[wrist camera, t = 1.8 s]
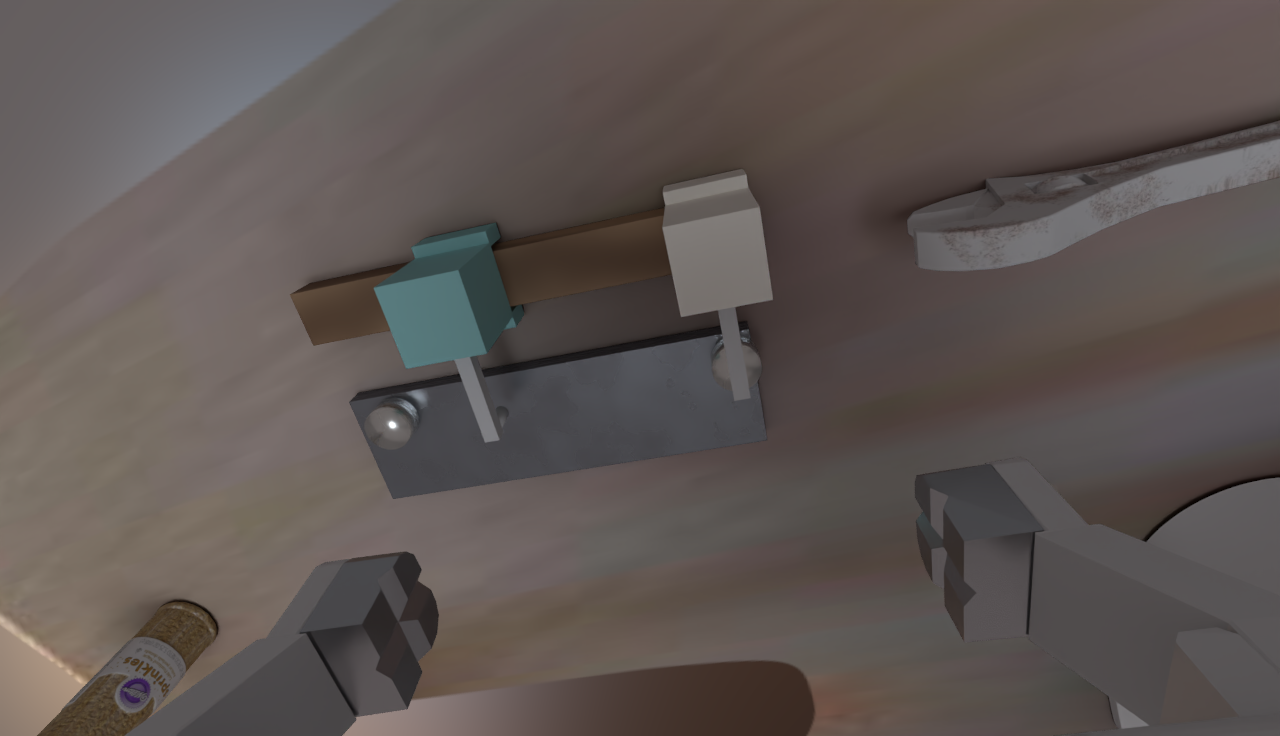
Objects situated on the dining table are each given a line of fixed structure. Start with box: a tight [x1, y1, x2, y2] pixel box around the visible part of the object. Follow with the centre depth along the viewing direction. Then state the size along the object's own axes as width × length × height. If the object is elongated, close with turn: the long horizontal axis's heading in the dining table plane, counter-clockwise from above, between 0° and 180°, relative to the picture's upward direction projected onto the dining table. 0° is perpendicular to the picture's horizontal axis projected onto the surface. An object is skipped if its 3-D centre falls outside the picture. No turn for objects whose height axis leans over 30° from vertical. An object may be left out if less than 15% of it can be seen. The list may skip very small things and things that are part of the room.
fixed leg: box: [662, 169, 773, 401], centre depth 31 cm, size 10×4×7 cm, turn 13°
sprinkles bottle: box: [37, 602, 217, 736], centre depth 42 cm, size 5×5×13 cm
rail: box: [290, 208, 672, 346], centre depth 34 cm, size 3×24×2 cm, turn 102°
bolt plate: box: [349, 321, 767, 499], centre depth 37 cm, size 7×24×3 cm, turn 103°
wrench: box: [907, 121, 1280, 271], centre depth 28 cm, size 8×2×30 cm
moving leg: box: [374, 223, 524, 443], centre depth 33 cm, size 10×4×7 cm, turn 13°
